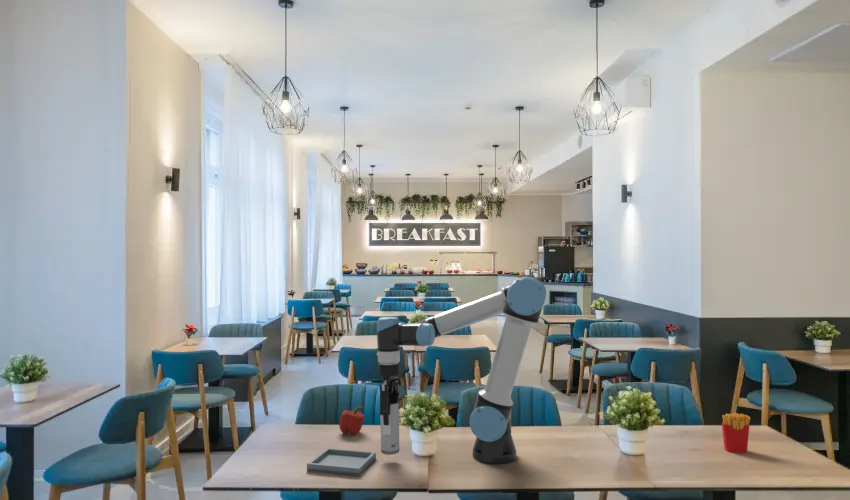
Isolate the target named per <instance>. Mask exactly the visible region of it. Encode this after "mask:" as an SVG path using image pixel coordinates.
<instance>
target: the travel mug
mask: <svg viewBox="0 0 850 500" xmlns="http://www.w3.org/2000/svg"><path fill="white" fill-rule="evenodd" d="M398 395H400V391H399V392H395V394H391V396H390V398H391V404H390V414H391V435H386V434H383V415H380V414H379V415H380V416H379V417H380V452H381V453H382V454H384V455H389V456H390V455H396V454H398V453H400V450H401V449H400V418H399V417H400V414H399V413H400V411H399V410H400V408H399V406H400V404H399V405H398Z"/></svg>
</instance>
